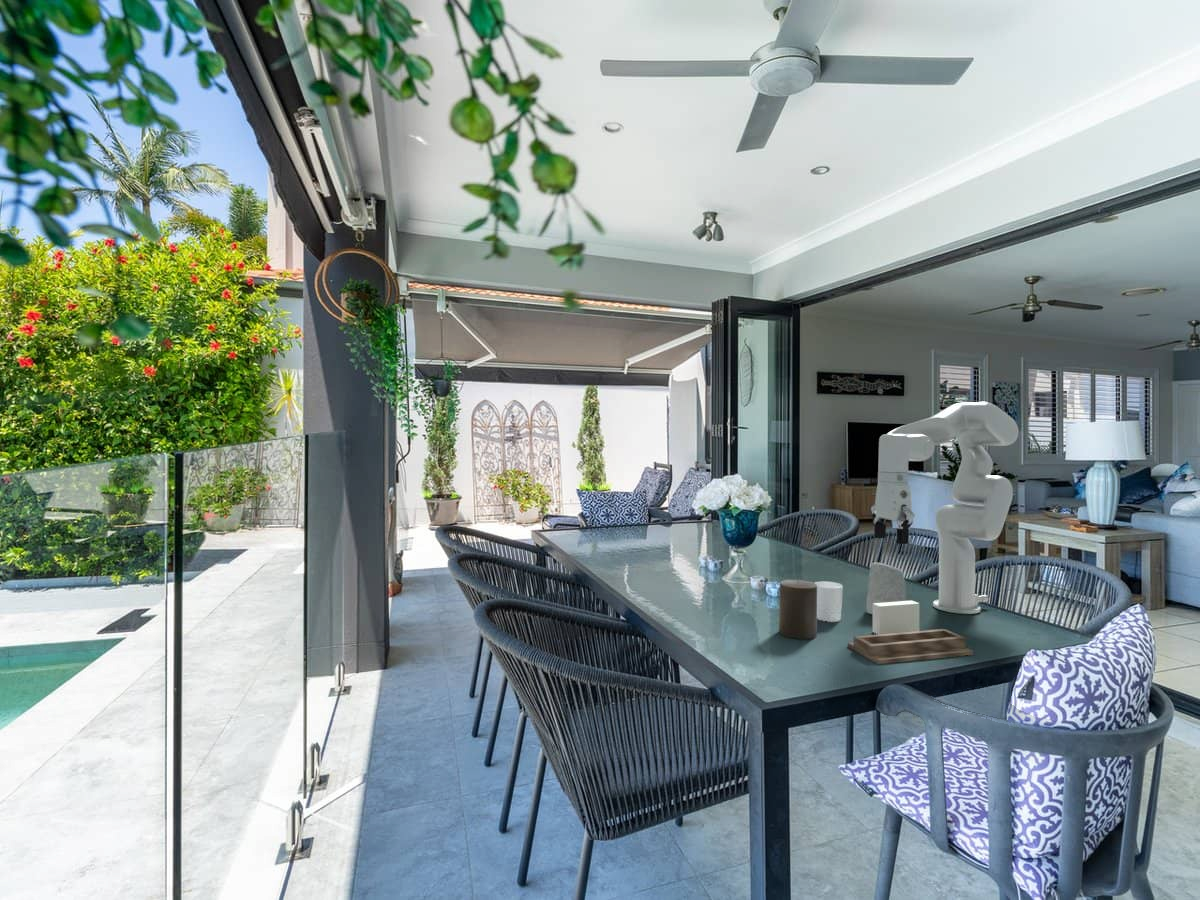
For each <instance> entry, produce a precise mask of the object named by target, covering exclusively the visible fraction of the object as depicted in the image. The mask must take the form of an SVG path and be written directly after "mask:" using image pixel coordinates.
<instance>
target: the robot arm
mask: <svg viewBox="0 0 1200 900" xmlns="http://www.w3.org/2000/svg"><path fill="white" fill-rule="evenodd" d="M1018 437H1019V427H1018V424H1017V422H1016V421H1015V420H1014V419H1013V417H1011V416H1010V415H1008V413H1006V412H1005V411H1004V410H1003V409H1001V408H1000V407H998V405H997V406H996V405H995V404H993V403H991V402H989V401H979V402H978V401H977V402H957V403H954V404H951V405H949V406H947V407H946V408H944V409H942V410H940V412H937V413H936V414H934V415H932V416H930V417H928V418H924V419H920V420H917V421H914V422H911V423H907V424H904V425H901V426H899V427H896V428H894V429H892V430H890V431H889V432H887V433H886V434H885V433H884V434H881V436H880V437H879V439H878V440H879V441H878V465H877V466H878V471H877V487H876V492H875V500H874V505H872V506H871V507H870V510H871V514H872V515H871V516H872V518H873V520H872V521H873V523H874V534H873V535H874V536H873V537H874V538H875V539H885V538H886V534H887V524H886V521H887V520H888V521H892V522H895V523H896V525H897V527H898V528H896V541H895V542H896V544H898V545H908V544H909V538H910V537H909V534H910V533H909V531H910V530H911V526H912V525H913V522H914V519H915V515H916V514H915V513H914V512H913V511H912V510H913V509H912V495H911V487H910V485H909V462H923V461H926V460H929V459H930V458H931V457H932V456H934V455H933V454H934V453H935V448H936V447H935V446H939V445H943V444H946V443H948V442H950V441H951V440H954V439H955V438H956V441H957V444H958V447H959V450H960V455H961V462H960V465H959V468H958V471H957V474H956V476H955V479H954V481H953V484H952V485H953V486H952V488H951V498H952V499H953V501H955V502H956V503H959V504H945V505H943V506H941V507H940V508H938V510H937V511H936V512H935V513H936V514H935V525H936V530H937V537H938V550H939V551H938V599H935V600H933V602H932V606H933V607H934V608H935V609H936V610H940V611H943V612H948V613H952V614H960V615H961V614H962V615H974V614H975V615H976V614H979V613H980V612H981V610H982V609H981V606H980V605H979V603H984V602H988V601H989V596H988V595H986V594H983V595H978V594H976V551H975V548H974V546H973V544H972V542H971V541H970V539H973V540H980V541H986V542H987V541H990V542H991V541H995V540H997V538H999V536H1000V535H1001V533H1002V531H1003V528H1004V525H1005V522H1006V519H1007V517H1008V513H1009V510H1010V507H1011V504H1012V501H1013V497H1014V496H1013V493H1014V491H1013V486H1012V485H1013V484H1012V483H1011V481H1010V480H1009V479H1008V478H1006V477H1005V476H1001V475H991V474H992V470H993V467H994V461H993V460H992V457H991V456H990V455H989V453H988V452H987V451H986V450H985V446H990V447H991V446H992V447H998V446H1000V447H1004V446H1010V445H1012V444H1014V443H1015V442H1016V441H1017V439H1018ZM983 446H984V447H983Z"/></svg>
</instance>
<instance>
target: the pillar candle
mask: <svg viewBox="0 0 1200 900" xmlns="http://www.w3.org/2000/svg"><path fill="white" fill-rule="evenodd" d="M778 619H779V624H778V625H779V626H778V631H779V634H780V635H782V636H784V637H786V638H790V639H794V640H801V639H805V640H810V639H815V638H817V637H818V636H817V635H818V633H817V632H818V630H817V629H818V619H817V584H815V582H812V581H808V580H803V579H802V580H801V579H798V578H797V579H784V580H782V581H780V582H779V618H778Z"/></svg>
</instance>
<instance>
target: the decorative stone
mask: <svg viewBox="0 0 1200 900" xmlns="http://www.w3.org/2000/svg"><path fill="white" fill-rule="evenodd" d="M867 583H868V585H867V592H866V593H867V595H866V613H867V614H870V615H873V603H884V602H898V601H907V591H906V590H907V589H906V588H907V587H906V580H905V576H904V572H903V570H902V569H900V568H897V567H894V566H892V565H889V564H886V563H882V562H872V563H871V564H870V567H869V575H868V582H867Z"/></svg>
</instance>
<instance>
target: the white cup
mask: <svg viewBox="0 0 1200 900" xmlns="http://www.w3.org/2000/svg"><path fill="white" fill-rule="evenodd" d="M814 583H815V584H817V621H821V620H822V621H821V622H825V621H827V623H836V622H840V621H841V618H842V605H843V587H844V586H843V584H842V583H839V582H836V581H834V582H833V581H828V580H827V581H826V580H825V581H815V582H814Z"/></svg>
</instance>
